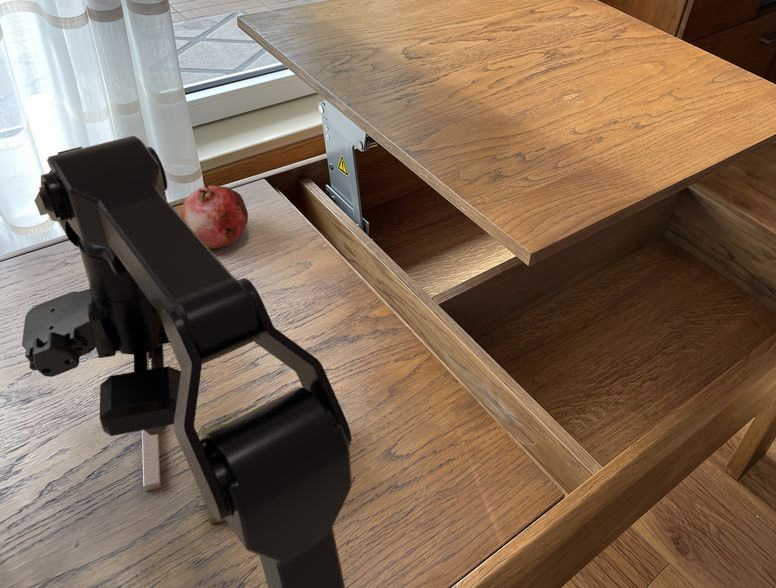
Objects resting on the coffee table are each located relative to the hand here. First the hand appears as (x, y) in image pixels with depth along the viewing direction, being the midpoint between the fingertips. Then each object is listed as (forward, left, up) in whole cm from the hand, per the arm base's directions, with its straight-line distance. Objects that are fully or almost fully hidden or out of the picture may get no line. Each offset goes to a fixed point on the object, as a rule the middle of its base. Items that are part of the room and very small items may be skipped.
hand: (154, 393), depth 69 cm
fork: (-2, +2, -12) cm, 13 cm away
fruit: (+37, -8, -13) cm, 40 cm away
